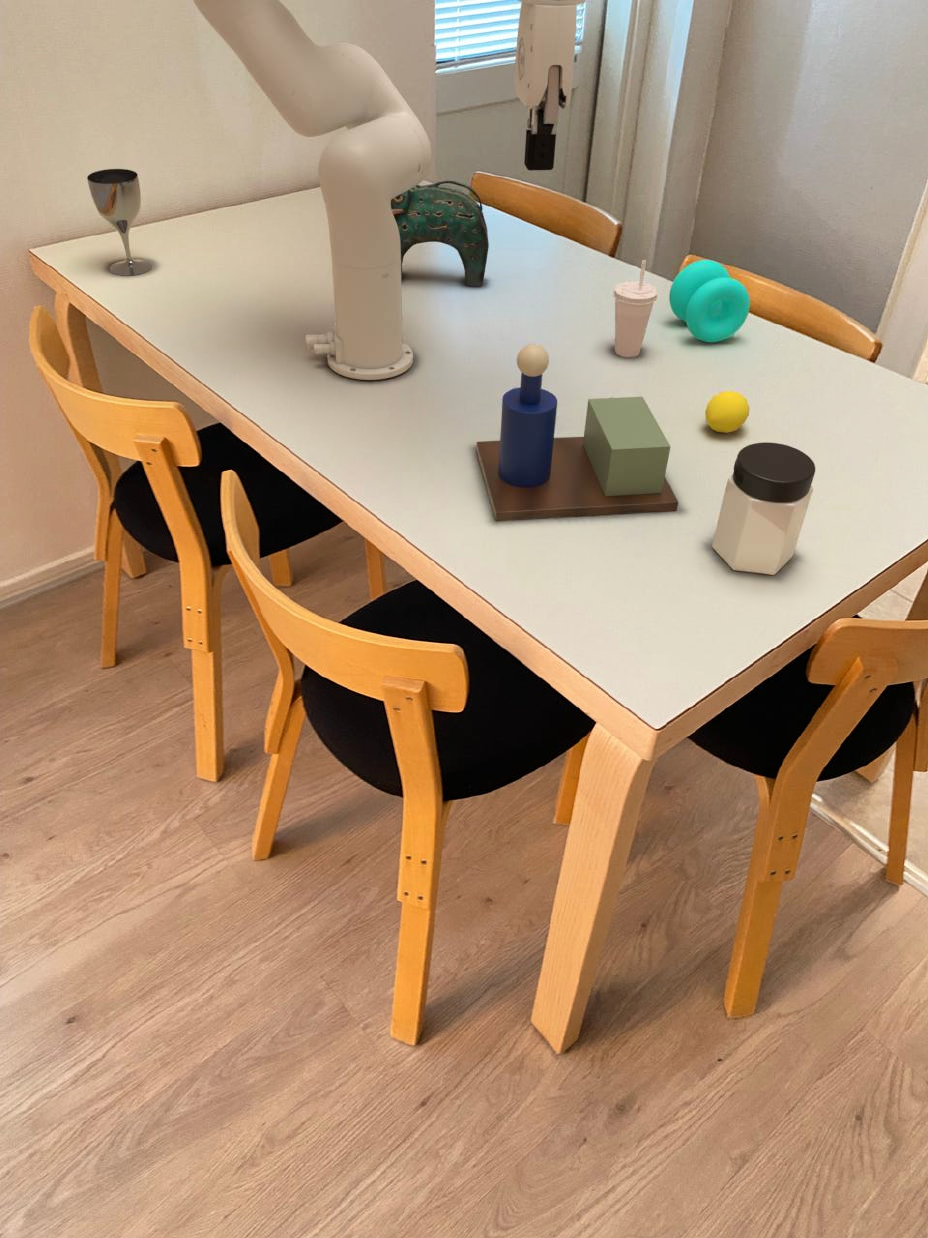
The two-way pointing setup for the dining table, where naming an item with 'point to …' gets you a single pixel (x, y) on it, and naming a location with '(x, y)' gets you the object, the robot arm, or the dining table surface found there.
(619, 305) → the smoothie
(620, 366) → the dining table surface
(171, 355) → the dining table surface
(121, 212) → the wine glass
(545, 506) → the board
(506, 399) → the bottle
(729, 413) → the lemon
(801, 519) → the jar
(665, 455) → the block
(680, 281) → the donuts
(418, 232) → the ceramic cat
